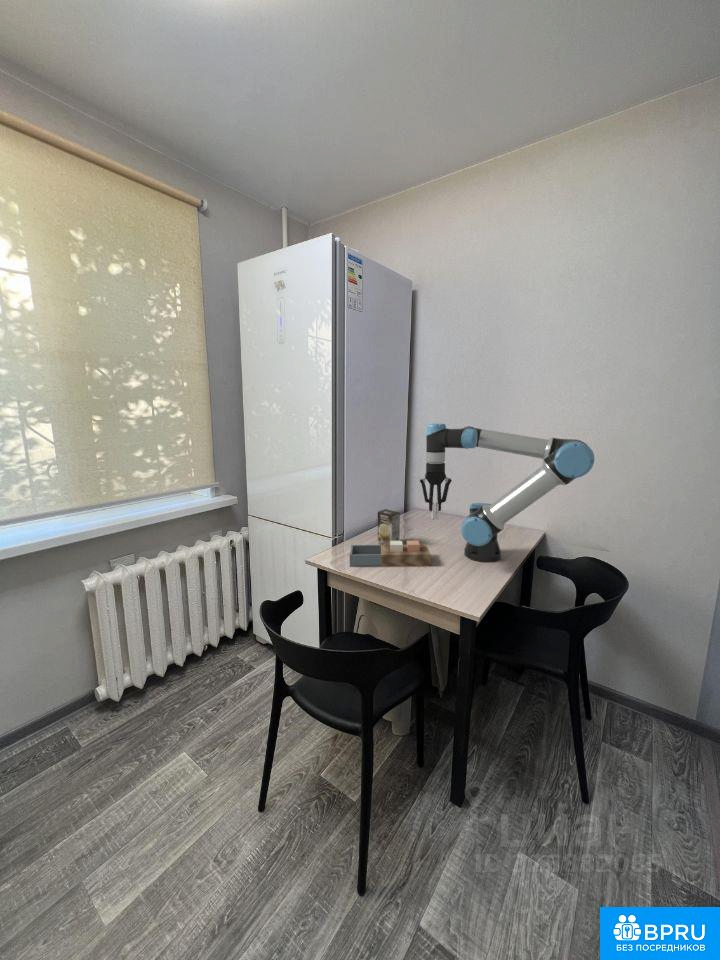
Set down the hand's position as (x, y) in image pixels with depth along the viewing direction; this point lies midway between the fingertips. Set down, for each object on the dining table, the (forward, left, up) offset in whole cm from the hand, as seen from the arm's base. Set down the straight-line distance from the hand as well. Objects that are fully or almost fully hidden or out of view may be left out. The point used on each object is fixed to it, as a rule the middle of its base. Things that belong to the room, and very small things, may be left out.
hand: (434, 518), depth 160 cm
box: (+29, 0, -18) cm, 34 cm away
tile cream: (+16, 0, -13) cm, 21 cm away
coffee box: (+19, -20, -19) cm, 33 cm away
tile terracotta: (+9, 0, -13) cm, 16 cm away
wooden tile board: (+13, 0, -18) cm, 22 cm away
